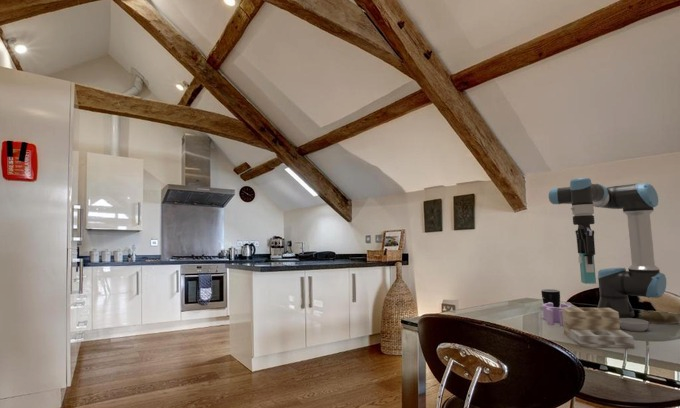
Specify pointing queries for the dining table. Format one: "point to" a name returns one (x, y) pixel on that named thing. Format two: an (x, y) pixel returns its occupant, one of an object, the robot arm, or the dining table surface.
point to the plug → (585, 276)
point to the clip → (553, 313)
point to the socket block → (595, 328)
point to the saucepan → (633, 324)
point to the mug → (551, 296)
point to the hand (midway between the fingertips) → (587, 271)
